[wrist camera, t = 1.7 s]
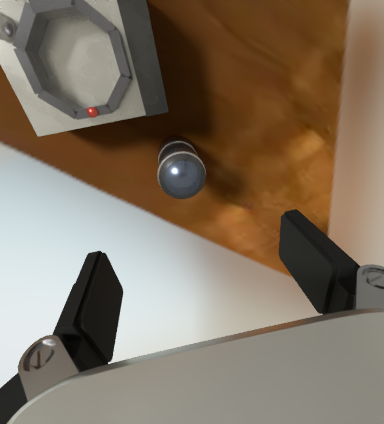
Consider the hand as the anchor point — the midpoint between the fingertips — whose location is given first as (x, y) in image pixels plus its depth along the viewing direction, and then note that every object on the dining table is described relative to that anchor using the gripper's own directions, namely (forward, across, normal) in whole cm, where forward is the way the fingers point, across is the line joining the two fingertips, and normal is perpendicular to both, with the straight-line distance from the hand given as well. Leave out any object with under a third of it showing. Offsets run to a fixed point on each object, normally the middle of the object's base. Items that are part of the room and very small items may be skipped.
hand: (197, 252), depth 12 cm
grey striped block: (+18, +6, -10) cm, 22 cm away
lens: (+18, 0, 0) cm, 18 cm away
